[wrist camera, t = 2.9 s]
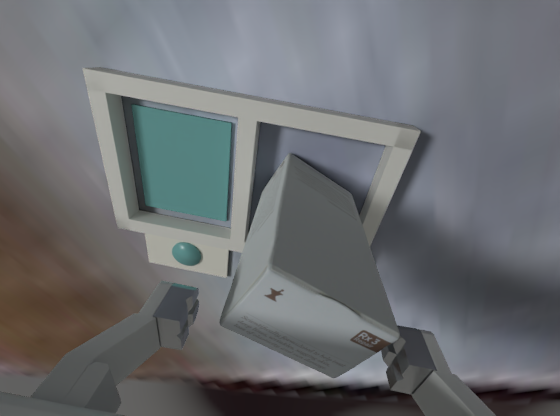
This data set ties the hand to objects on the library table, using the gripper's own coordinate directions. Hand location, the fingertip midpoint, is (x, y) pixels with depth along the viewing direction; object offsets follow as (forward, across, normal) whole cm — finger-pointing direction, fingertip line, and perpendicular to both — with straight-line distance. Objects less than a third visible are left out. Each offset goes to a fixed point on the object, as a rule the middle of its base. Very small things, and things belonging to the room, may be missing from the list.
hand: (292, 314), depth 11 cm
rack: (+11, +4, +2) cm, 12 cm away
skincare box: (+11, -1, 0) cm, 11 cm away
